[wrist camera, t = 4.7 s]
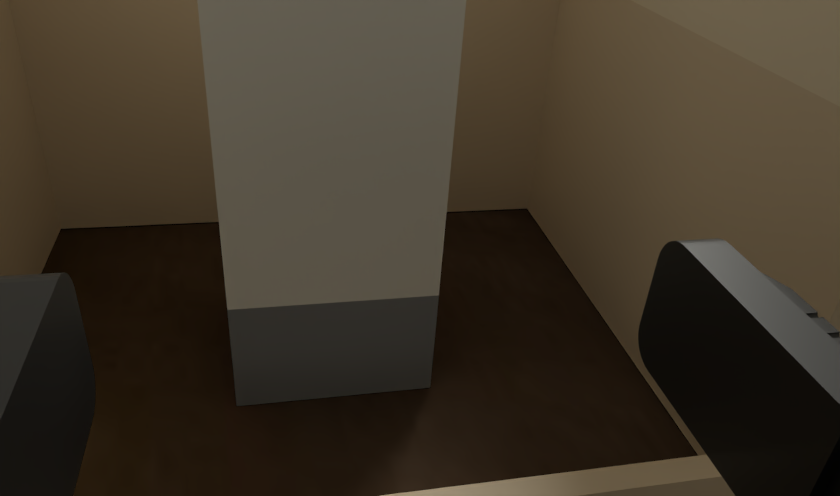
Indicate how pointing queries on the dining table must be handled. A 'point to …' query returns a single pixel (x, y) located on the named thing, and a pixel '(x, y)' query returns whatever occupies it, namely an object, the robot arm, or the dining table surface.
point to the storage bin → (482, 149)
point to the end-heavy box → (331, 187)
